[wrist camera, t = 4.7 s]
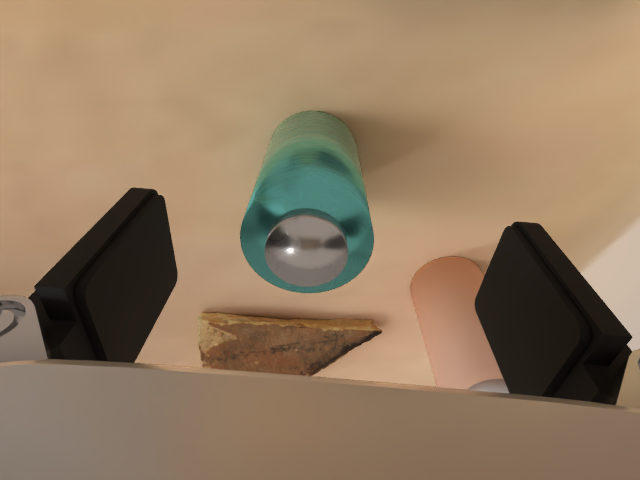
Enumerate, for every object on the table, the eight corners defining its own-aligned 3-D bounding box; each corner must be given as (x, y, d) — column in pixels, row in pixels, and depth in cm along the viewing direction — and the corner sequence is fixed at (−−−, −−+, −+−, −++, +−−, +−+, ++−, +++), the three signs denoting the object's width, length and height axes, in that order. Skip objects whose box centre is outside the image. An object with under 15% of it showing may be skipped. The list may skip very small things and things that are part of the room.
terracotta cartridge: (470, 312, 23) (526, 439, 16) (403, 308, 22) (434, 435, 16) (492, 259, 20) (567, 382, 14) (419, 253, 20) (461, 376, 14)
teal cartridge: (351, 198, 18) (365, 309, 12) (268, 191, 18) (239, 301, 12) (363, 114, 16) (387, 198, 10) (269, 107, 16) (232, 186, 10)
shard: (380, 313, 23) (383, 335, 22) (361, 388, 28) (363, 411, 26) (201, 300, 23) (193, 322, 21) (211, 379, 27) (204, 402, 26)
